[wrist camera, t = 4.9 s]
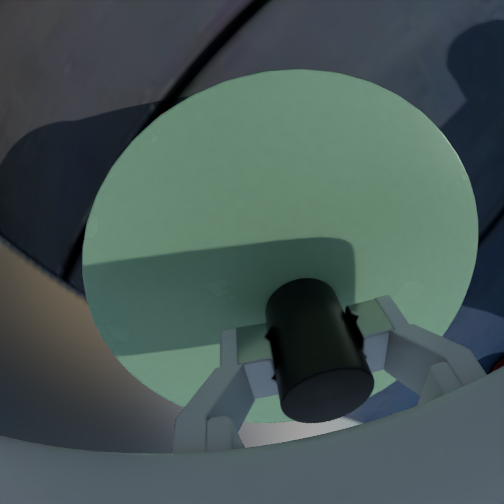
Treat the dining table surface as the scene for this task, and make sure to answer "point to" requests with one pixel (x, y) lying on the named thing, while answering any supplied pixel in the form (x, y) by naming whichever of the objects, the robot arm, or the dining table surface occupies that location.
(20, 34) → the dining table surface
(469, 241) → the bin lid
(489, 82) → the dining table surface
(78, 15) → the dining table surface
